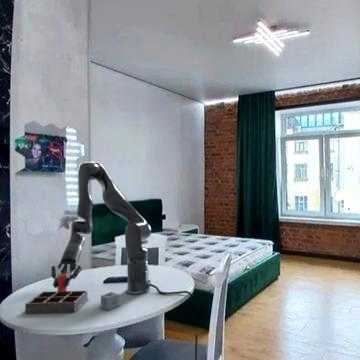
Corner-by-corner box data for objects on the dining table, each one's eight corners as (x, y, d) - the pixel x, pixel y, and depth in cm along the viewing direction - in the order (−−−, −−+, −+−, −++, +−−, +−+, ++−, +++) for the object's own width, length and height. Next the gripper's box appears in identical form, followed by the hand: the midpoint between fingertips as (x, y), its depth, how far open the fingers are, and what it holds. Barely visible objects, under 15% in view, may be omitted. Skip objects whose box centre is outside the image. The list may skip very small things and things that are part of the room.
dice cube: (111, 303, 134) (111, 291, 134) (118, 305, 131) (118, 294, 131) (100, 307, 130) (100, 295, 130) (108, 310, 127) (108, 298, 127)
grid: (87, 299, 138) (87, 290, 138) (74, 312, 125) (74, 302, 125) (43, 300, 136) (43, 291, 136) (25, 313, 124) (25, 303, 124)
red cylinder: (68, 292, 146) (68, 273, 146) (64, 295, 143) (64, 275, 142) (60, 292, 146) (59, 273, 146) (55, 295, 142) (55, 276, 142)
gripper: (54, 250, 151) (40, 283, 139) (84, 249, 152) (73, 282, 140) (59, 258, 156) (47, 290, 144) (88, 257, 157) (78, 290, 145)
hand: (60, 286), depth 142 cm, fingers closed on red cylinder, 3 cm apart
